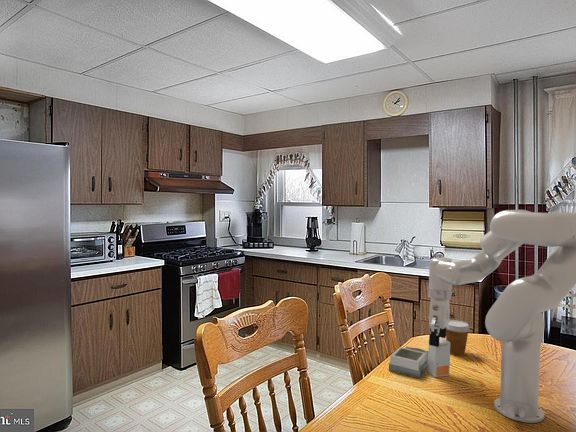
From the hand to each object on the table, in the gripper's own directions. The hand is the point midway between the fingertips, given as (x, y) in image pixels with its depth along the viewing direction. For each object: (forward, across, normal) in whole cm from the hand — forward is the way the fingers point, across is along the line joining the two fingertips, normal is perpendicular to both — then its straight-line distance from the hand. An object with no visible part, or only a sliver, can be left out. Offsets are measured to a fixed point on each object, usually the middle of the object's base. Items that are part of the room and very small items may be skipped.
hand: (437, 341), depth 138 cm
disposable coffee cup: (+12, +24, -2) cm, 26 cm away
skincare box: (+12, 0, -1) cm, 12 cm away
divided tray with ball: (+12, +2, +9) cm, 15 cm away
